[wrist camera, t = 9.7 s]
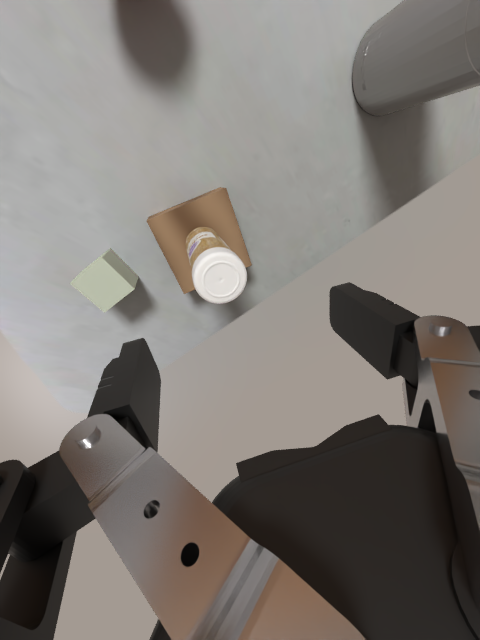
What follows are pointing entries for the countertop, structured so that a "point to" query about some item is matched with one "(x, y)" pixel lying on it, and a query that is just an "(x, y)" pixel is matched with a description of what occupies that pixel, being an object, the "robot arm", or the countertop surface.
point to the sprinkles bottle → (214, 267)
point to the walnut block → (188, 216)
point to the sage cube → (106, 280)
